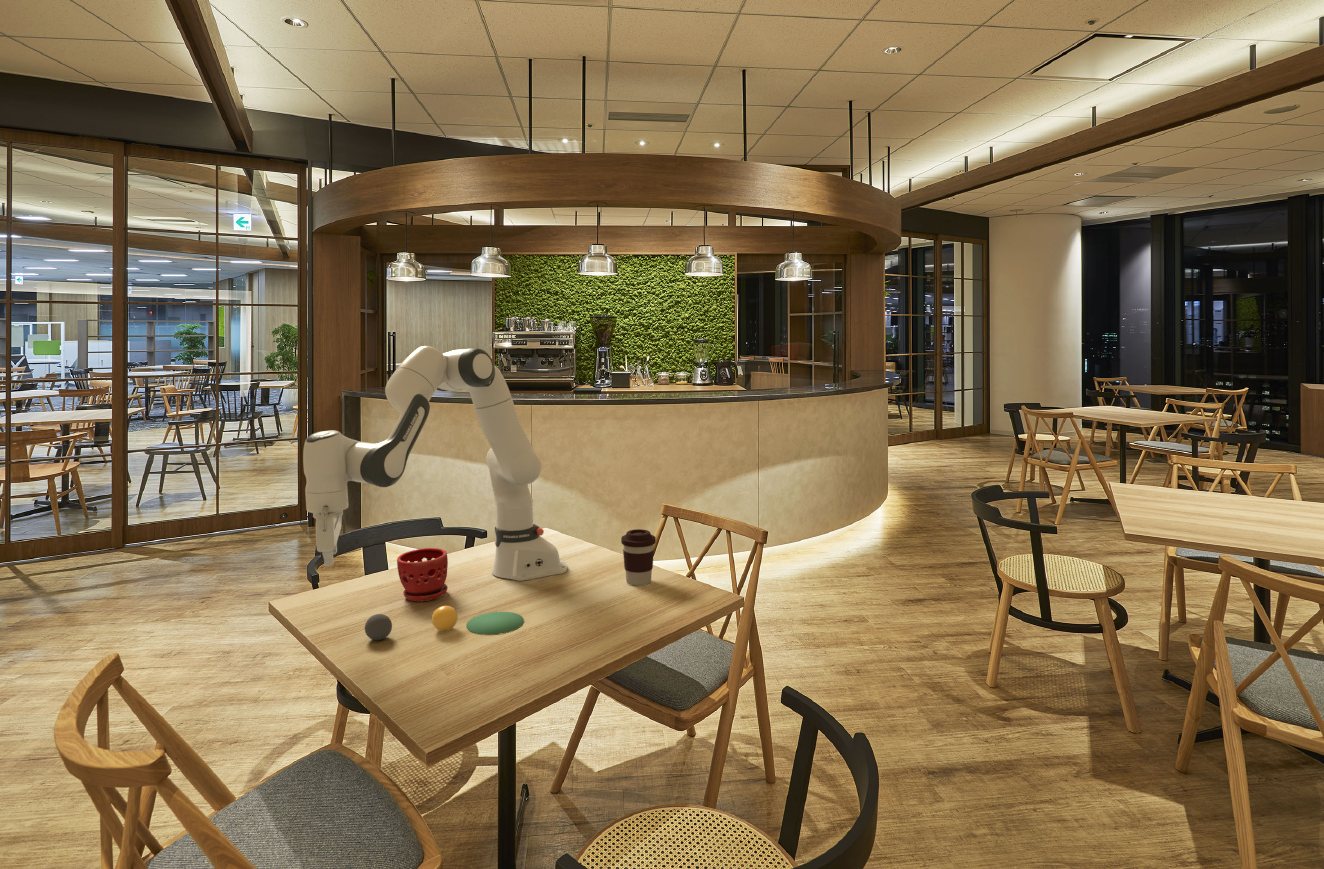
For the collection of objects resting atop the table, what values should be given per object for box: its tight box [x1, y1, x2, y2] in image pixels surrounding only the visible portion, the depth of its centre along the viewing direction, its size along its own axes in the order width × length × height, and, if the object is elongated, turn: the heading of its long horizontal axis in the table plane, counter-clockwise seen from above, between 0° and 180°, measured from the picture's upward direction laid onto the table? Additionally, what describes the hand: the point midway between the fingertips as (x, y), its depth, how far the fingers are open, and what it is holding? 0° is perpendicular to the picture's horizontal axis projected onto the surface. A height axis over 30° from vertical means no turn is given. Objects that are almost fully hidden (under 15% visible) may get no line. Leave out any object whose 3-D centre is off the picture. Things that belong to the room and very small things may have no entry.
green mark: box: [465, 611, 525, 635], centre depth 177 cm, size 14×14×1 cm
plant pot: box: [396, 547, 449, 602], centre depth 195 cm, size 13×13×12 cm
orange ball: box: [431, 605, 459, 632], centre depth 172 cm, size 6×6×6 cm
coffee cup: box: [620, 528, 657, 587], centre depth 206 cm, size 10×10×15 cm
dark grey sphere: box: [364, 613, 393, 641], centre depth 167 cm, size 6×6×6 cm
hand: (331, 559), depth 166 cm, fingers open, 8 cm apart
